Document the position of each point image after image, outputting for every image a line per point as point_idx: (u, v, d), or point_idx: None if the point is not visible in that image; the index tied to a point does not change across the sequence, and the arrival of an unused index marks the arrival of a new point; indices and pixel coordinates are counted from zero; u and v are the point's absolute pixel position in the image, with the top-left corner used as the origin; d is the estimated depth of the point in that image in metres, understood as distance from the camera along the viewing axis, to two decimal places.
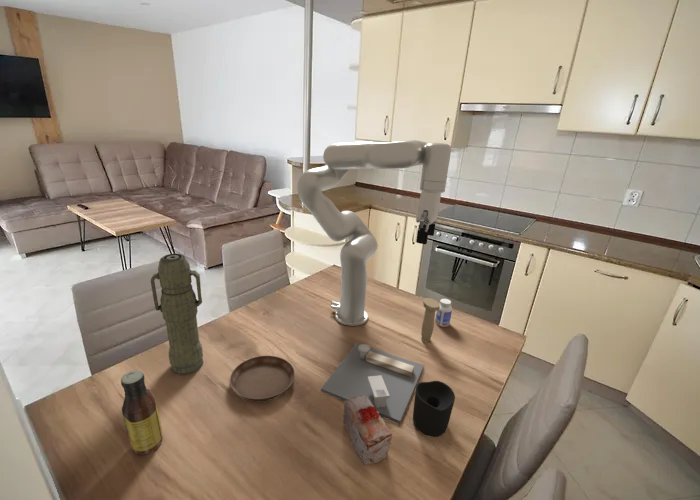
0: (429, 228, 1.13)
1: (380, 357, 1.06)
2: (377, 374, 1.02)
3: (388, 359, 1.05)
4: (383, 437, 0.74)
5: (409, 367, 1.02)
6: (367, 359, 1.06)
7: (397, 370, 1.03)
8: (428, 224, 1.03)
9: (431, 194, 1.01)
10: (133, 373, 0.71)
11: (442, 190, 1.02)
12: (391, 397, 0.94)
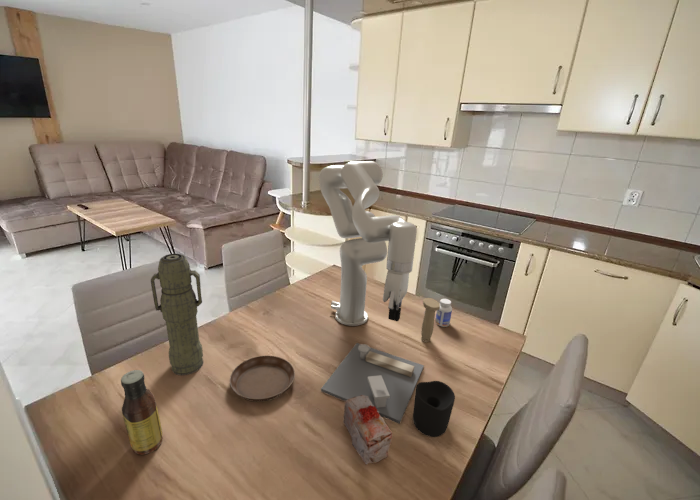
0: None
1: (380, 357, 1.06)
2: (377, 374, 1.02)
3: (388, 359, 1.05)
4: (383, 436, 0.74)
5: (409, 367, 1.02)
6: (367, 359, 1.06)
7: (397, 370, 1.03)
8: (398, 304, 1.02)
9: (397, 276, 0.97)
10: (133, 373, 0.71)
11: (409, 270, 0.98)
12: (391, 397, 0.94)
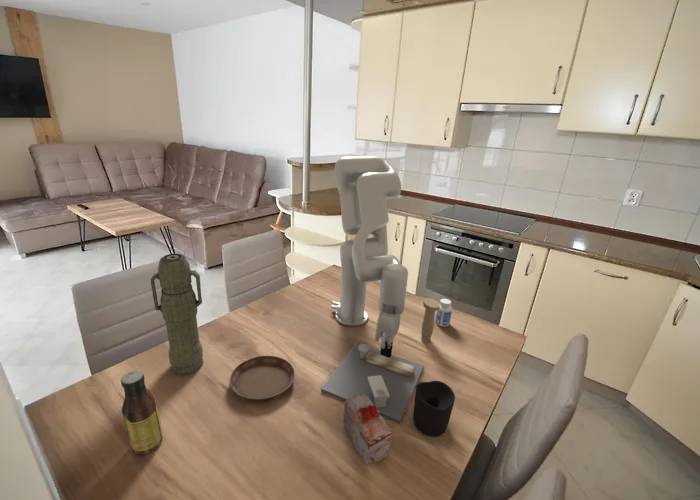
0: None
1: (380, 357, 1.06)
2: (377, 374, 1.02)
3: (388, 359, 1.05)
4: (384, 436, 0.75)
5: (409, 367, 1.02)
6: (367, 359, 1.06)
7: (397, 370, 1.03)
8: (389, 343, 1.04)
9: (388, 318, 0.99)
10: (133, 373, 0.71)
11: (400, 312, 1.00)
12: (391, 397, 0.94)
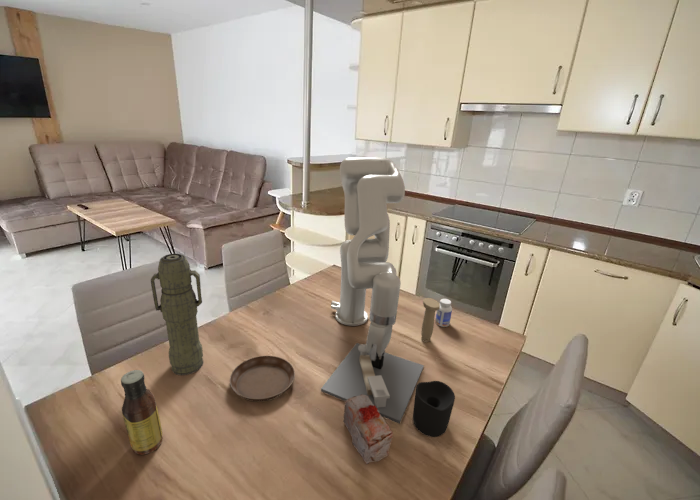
0: None
1: (367, 363, 1.03)
2: (377, 374, 1.02)
3: (370, 369, 1.01)
4: (384, 436, 0.75)
5: None
6: (359, 359, 1.06)
7: (365, 382, 0.97)
8: None
9: (380, 329, 0.94)
10: (133, 373, 0.71)
11: (392, 323, 0.95)
12: (391, 397, 0.94)
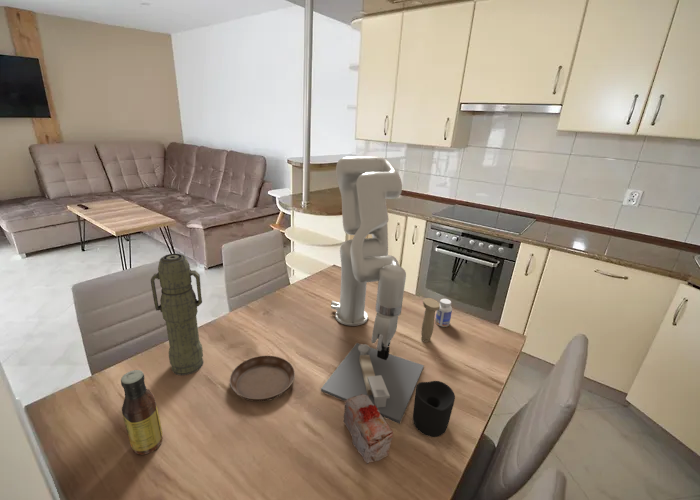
0: None
1: (367, 363, 1.03)
2: (377, 374, 1.02)
3: (370, 369, 1.01)
4: (384, 435, 0.75)
5: None
6: (359, 359, 1.06)
7: (365, 382, 0.97)
8: (386, 345, 1.03)
9: (385, 319, 0.97)
10: (133, 373, 0.71)
11: (397, 314, 0.98)
12: (391, 397, 0.94)
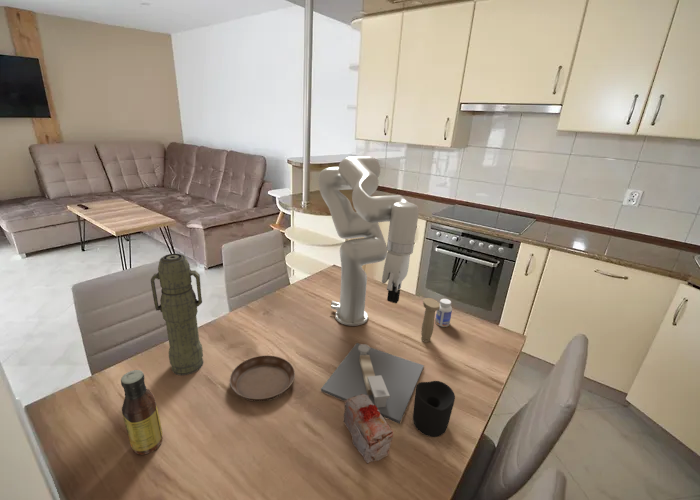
0: None
1: (367, 363, 1.03)
2: (377, 374, 1.02)
3: (370, 369, 1.01)
4: (384, 435, 0.75)
5: None
6: (359, 359, 1.06)
7: (365, 382, 0.97)
8: (397, 286, 1.01)
9: (397, 257, 0.95)
10: (133, 373, 0.71)
11: (409, 252, 0.96)
12: (391, 397, 0.94)
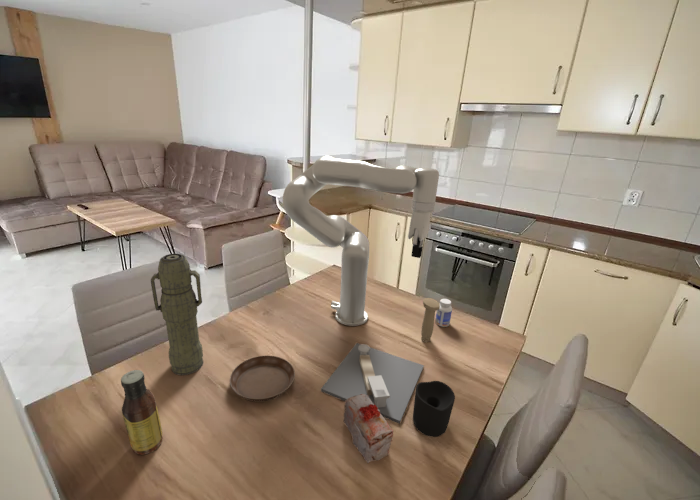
0: None
1: (367, 363, 1.03)
2: (377, 374, 1.02)
3: (370, 369, 1.01)
4: (385, 435, 0.75)
5: None
6: (359, 359, 1.06)
7: (365, 382, 0.97)
8: (420, 242, 1.17)
9: (421, 214, 1.12)
10: (133, 373, 0.71)
11: (431, 210, 1.13)
12: (391, 397, 0.94)
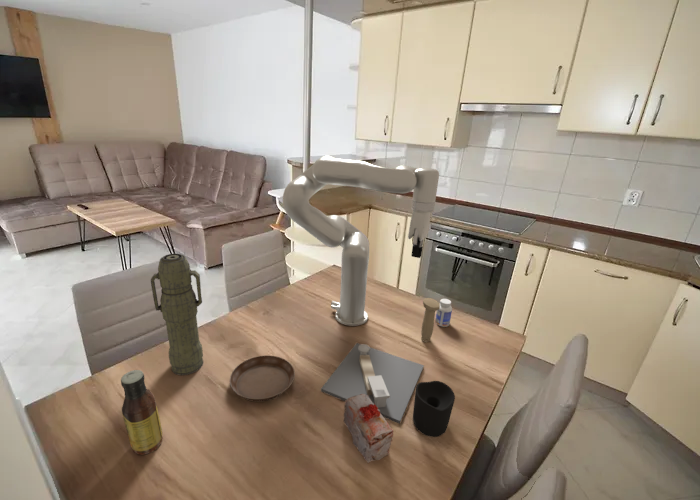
0: None
1: (367, 363, 1.03)
2: (377, 374, 1.02)
3: (370, 369, 1.01)
4: (385, 434, 0.75)
5: None
6: (359, 359, 1.06)
7: (365, 382, 0.97)
8: (420, 242, 1.17)
9: (421, 214, 1.12)
10: (133, 373, 0.71)
11: (431, 210, 1.13)
12: (391, 397, 0.94)
